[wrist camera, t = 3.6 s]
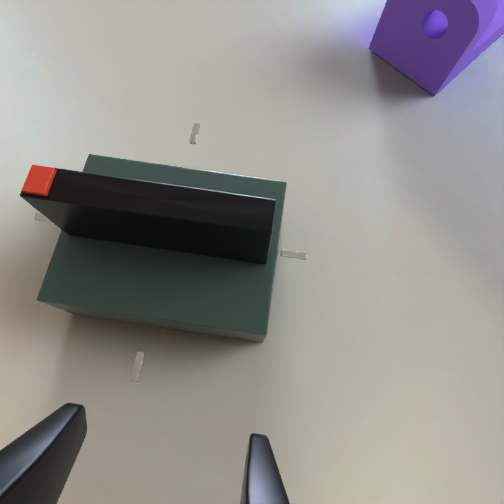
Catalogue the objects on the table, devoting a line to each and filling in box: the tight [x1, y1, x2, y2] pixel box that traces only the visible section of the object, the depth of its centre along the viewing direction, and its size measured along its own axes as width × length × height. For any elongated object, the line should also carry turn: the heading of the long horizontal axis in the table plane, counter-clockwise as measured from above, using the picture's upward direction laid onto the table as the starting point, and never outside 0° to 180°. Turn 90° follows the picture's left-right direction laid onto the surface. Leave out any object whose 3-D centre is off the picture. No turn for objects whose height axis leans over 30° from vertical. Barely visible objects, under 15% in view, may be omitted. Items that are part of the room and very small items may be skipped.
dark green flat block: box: [34, 123, 307, 382], centre depth 21 cm, size 15×15×4 cm
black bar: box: [20, 165, 277, 264], centre depth 17 cm, size 11×2×5 cm, turn 82°
